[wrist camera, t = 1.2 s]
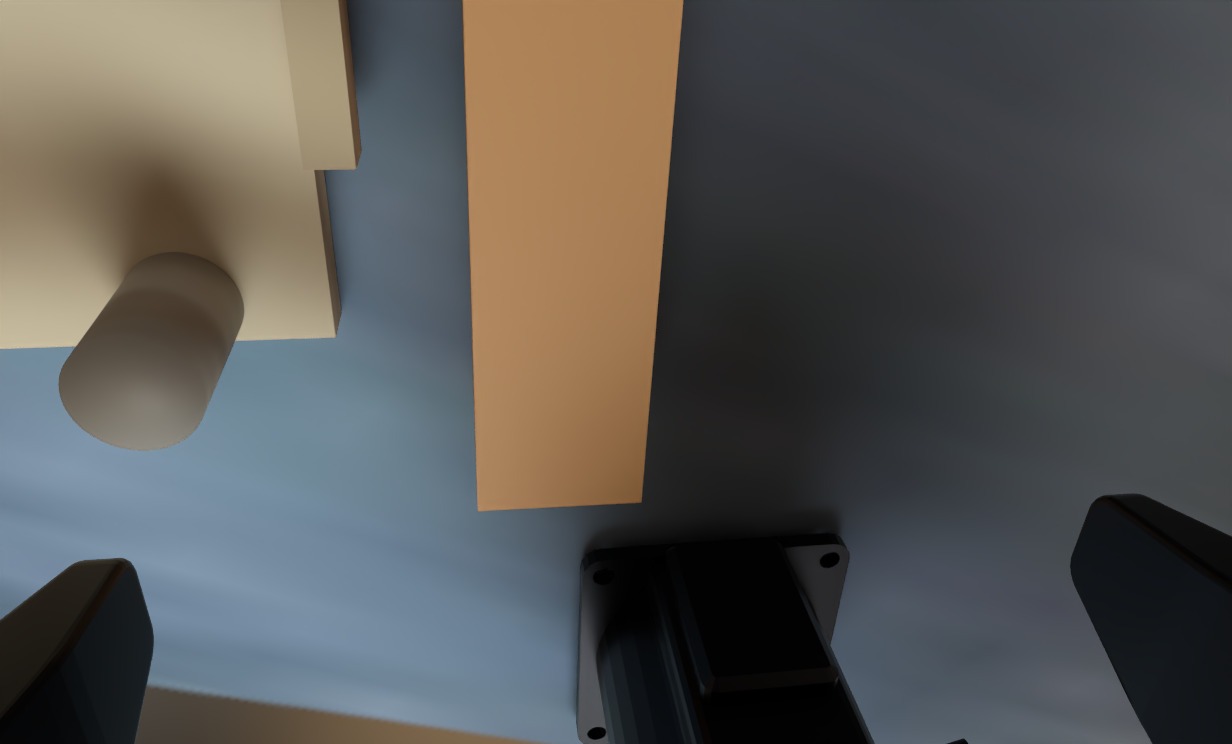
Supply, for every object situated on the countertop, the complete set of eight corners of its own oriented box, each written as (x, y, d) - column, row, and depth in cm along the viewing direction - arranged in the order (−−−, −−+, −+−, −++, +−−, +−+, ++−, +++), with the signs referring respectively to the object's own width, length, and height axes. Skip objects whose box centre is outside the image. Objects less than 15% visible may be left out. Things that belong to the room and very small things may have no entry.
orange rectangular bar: (613, 401, 20) (641, 502, 17) (474, 406, 20) (477, 511, 17) (644, -117, 15) (691, -101, 12) (458, -127, 15) (459, -113, 12)
